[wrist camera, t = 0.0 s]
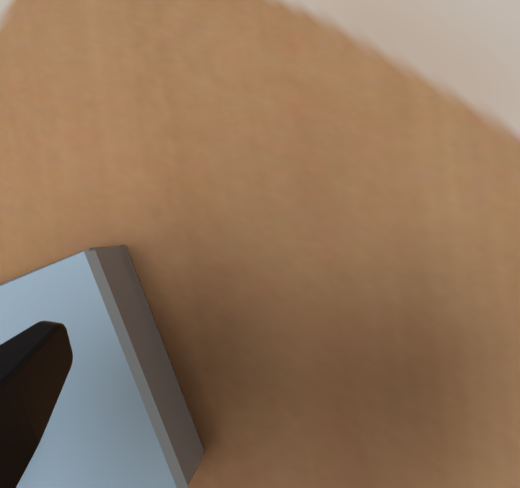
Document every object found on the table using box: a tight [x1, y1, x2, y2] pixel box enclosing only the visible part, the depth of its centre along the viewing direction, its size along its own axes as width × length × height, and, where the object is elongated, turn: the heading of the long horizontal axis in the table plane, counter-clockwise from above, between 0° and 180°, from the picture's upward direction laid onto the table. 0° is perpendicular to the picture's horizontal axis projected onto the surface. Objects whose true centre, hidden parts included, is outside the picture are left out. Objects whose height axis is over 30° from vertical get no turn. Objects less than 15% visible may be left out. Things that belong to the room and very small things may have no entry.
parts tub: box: [0, 245, 205, 485], centre depth 23 cm, size 11×14×4 cm
